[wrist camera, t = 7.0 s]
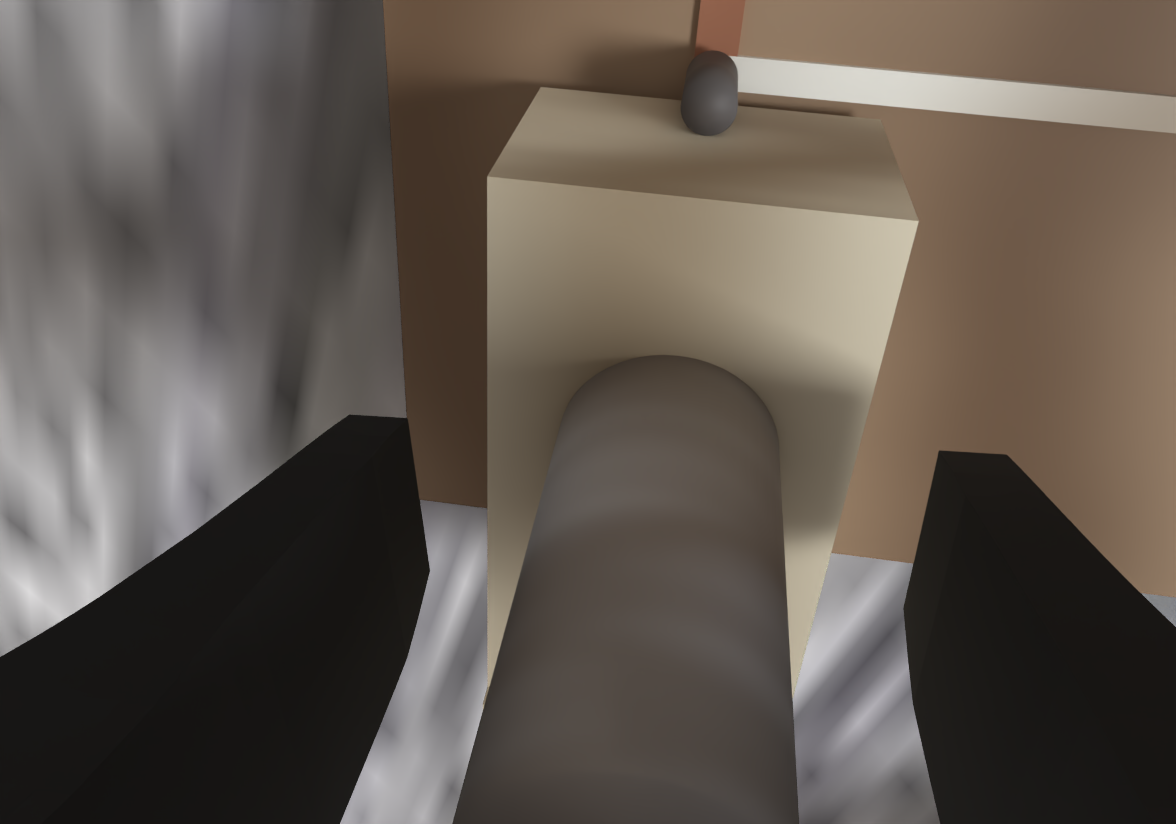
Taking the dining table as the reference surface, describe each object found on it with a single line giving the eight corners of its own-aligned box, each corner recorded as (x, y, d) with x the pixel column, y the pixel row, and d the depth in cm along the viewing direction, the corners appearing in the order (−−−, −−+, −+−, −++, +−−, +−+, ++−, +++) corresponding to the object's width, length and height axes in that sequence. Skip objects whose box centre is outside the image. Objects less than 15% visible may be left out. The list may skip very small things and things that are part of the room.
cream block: (875, 31, 12) (1113, 530, 4) (763, 556, 18) (782, 1228, 10) (564, 3, 13) (268, 424, 5) (542, 528, 18) (381, 1156, 10)
